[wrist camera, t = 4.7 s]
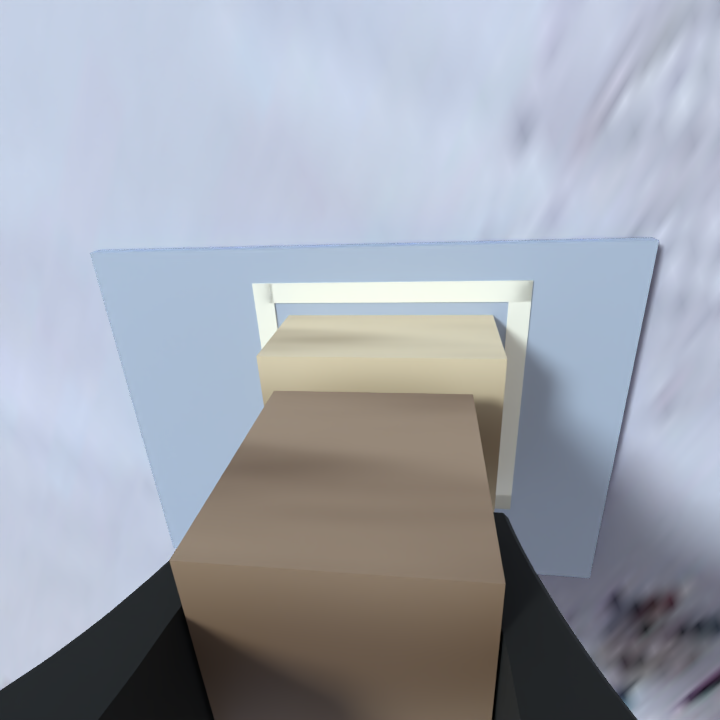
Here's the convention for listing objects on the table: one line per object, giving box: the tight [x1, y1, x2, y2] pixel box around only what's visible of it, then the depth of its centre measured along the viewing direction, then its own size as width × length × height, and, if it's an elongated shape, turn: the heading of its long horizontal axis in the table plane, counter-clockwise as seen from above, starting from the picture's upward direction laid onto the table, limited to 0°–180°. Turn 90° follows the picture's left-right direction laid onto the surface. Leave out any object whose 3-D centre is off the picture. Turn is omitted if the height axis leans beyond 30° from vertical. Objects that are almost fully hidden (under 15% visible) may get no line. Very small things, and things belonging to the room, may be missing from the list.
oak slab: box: [256, 315, 507, 512], centre depth 14 cm, size 6×6×3 cm
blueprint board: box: [90, 238, 659, 578], centre depth 16 cm, size 12×16×1 cm
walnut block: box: [169, 391, 505, 720], centre depth 10 cm, size 4×4×5 cm
